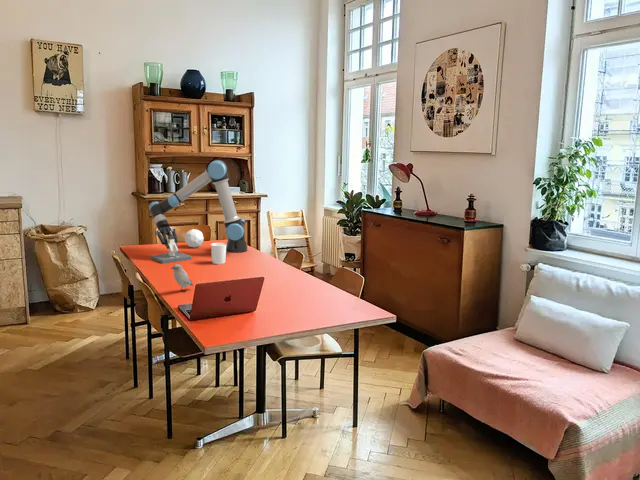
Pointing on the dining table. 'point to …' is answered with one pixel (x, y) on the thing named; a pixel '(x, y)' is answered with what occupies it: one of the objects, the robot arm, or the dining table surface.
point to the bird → (181, 276)
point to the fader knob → (171, 241)
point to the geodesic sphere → (194, 238)
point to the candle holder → (218, 253)
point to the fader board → (171, 257)
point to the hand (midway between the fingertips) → (174, 251)
